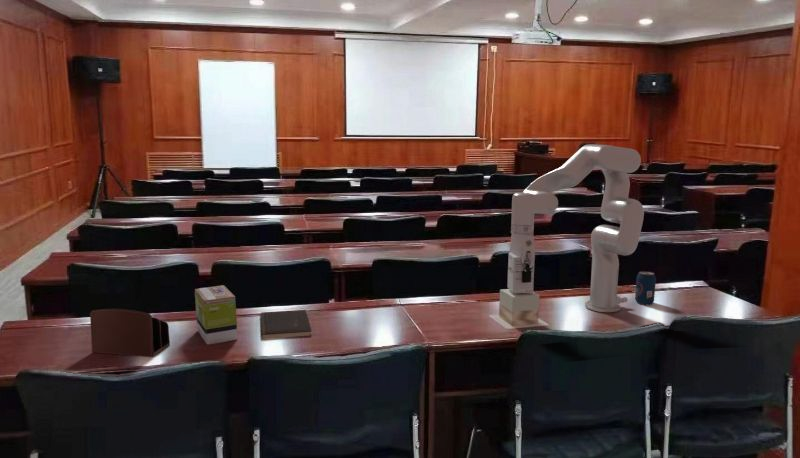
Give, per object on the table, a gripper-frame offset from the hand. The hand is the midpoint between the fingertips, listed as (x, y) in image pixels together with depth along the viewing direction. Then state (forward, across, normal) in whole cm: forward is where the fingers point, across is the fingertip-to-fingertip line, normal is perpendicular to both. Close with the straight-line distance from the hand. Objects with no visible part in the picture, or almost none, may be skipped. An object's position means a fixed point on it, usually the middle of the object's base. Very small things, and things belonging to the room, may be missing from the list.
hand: (520, 278), depth 212 cm
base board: (+16, 0, 0) cm, 16 cm away
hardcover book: (+16, +17, +79) cm, 82 cm away
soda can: (+16, +10, -59) cm, 62 cm away
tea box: (+15, +13, +101) cm, 103 cm away
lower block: (+15, 0, 0) cm, 15 cm away
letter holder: (+15, +7, +126) cm, 127 cm away
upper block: (+10, 0, 0) cm, 10 cm away
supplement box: (+4, 0, 0) cm, 4 cm away
